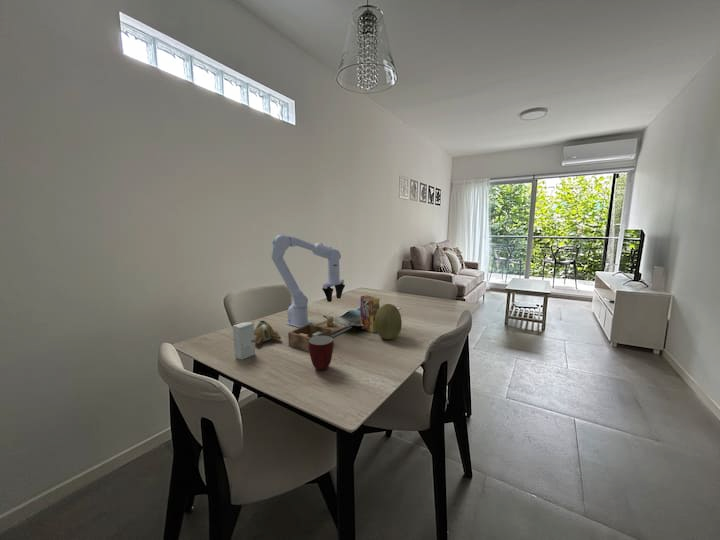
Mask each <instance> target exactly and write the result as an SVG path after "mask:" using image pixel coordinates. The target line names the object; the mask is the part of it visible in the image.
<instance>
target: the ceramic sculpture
mask: <svg viewBox="0 0 720 540" xmlns="http://www.w3.org/2000/svg"><path fill="white" fill-rule="evenodd" d="M253 325H254V342H255V344H256V345H260V344H262V343H264V342H266V341H270V340H271V339H273V340H276V341H277V340H281V339H282V337H281V335H280V333H279V332H278V331H277V330H274V329H273V327H272V326H271V325H270V323H267V321H265V320H262V319H259V318H258V319H256V320H255V322H254V323H253Z"/></svg>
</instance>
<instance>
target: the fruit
mask: <svg viewBox="0 0 720 540" xmlns="http://www.w3.org/2000/svg"><path fill="white" fill-rule="evenodd" d="M402 324H403V323H402V316H401V313H400V311H399V309H398V308H397V307H396V306H395V305H394V304H391V303H385V304H383V305H381V306H379V309H378V311H377V313H376V316H375V329H376V331H377V332H376V333H377V334H378V336H379V337H381V338H382V339H385V340H394V339H396V338H397V337H398V336H399V334H400V332H401V330H402V326H403V325H402Z"/></svg>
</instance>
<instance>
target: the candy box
mask: <svg viewBox="0 0 720 540" xmlns="http://www.w3.org/2000/svg"><path fill="white" fill-rule="evenodd" d="M379 308H380V298H379V297H375V296H371V295H367V294H364V295H361V296H360V323H361V324H363V325H364V326H363V327H362V328H361V329H362V330H365V331H368V332H370V333H373V334H374V333H377V331H376V329H375V316H376V313H377V311H378V309H379Z"/></svg>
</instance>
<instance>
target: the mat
mask: <svg viewBox="0 0 720 540" xmlns="http://www.w3.org/2000/svg"><path fill="white" fill-rule="evenodd" d="M325 321H327V319H326V320H325ZM351 329H353V328H352V327H348V328H346V329H343V330H341V331H339V332H337V333H335V334H333V335H331V338H332V339H334V338H335V337H338V336H339V335H341V334H344V333H345V332H346V331H349V330H351Z"/></svg>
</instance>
